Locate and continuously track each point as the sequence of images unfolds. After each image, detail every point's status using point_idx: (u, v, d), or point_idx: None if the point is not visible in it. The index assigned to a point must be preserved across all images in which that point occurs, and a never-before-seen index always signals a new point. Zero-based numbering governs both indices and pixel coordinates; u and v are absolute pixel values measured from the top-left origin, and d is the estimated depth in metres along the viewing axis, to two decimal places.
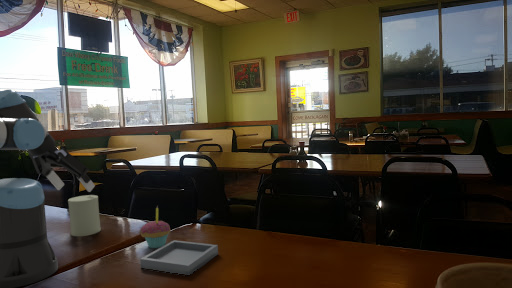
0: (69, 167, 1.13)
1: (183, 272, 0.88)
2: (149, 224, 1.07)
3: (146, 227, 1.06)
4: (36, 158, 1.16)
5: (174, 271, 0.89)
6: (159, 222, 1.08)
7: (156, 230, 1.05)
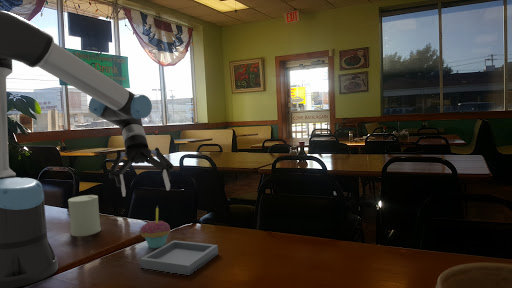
0: None
1: (183, 272, 0.88)
2: (149, 224, 1.07)
3: (146, 227, 1.06)
4: (120, 158, 1.22)
5: (174, 271, 0.89)
6: (159, 222, 1.08)
7: (156, 230, 1.05)
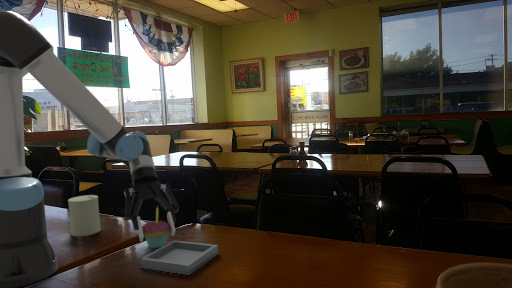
0: None
1: (183, 272, 0.88)
2: (149, 224, 1.07)
3: (146, 227, 1.06)
4: (130, 195, 1.11)
5: (174, 271, 0.89)
6: (159, 222, 1.08)
7: (156, 230, 1.05)
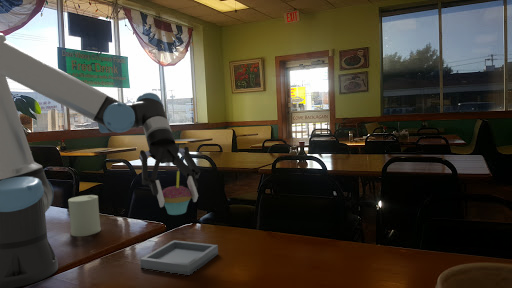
0: None
1: (183, 272, 0.88)
2: (169, 189, 0.97)
3: (166, 192, 0.96)
4: (146, 158, 1.01)
5: (174, 271, 0.89)
6: (180, 187, 0.99)
7: (178, 195, 0.95)
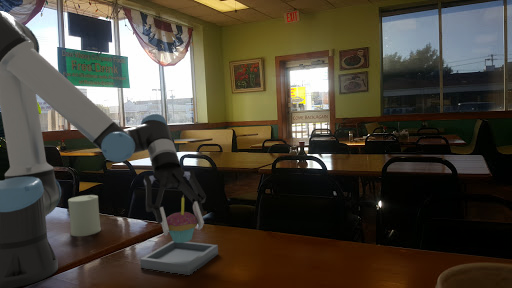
0: None
1: (183, 272, 0.88)
2: (174, 216, 0.94)
3: (171, 219, 0.93)
4: (150, 184, 0.98)
5: (174, 271, 0.89)
6: (185, 213, 0.95)
7: (183, 222, 0.92)
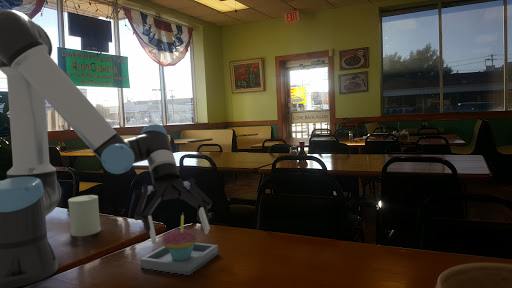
0: None
1: (183, 272, 0.88)
2: (173, 233, 0.94)
3: (170, 237, 0.93)
4: (147, 193, 0.98)
5: (174, 271, 0.89)
6: (184, 231, 0.95)
7: (182, 240, 0.92)
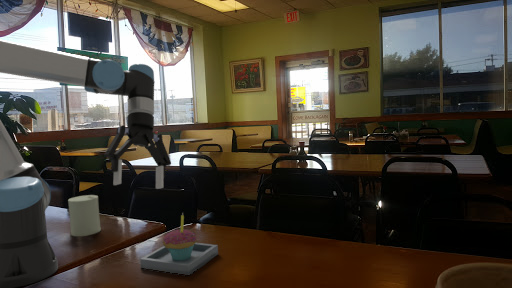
0: None
1: (183, 272, 0.88)
2: (173, 233, 0.94)
3: (170, 237, 0.93)
4: None
5: (174, 271, 0.89)
6: (184, 231, 0.95)
7: (182, 240, 0.92)
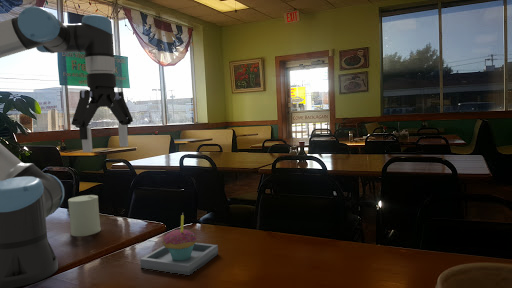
0: None
1: (183, 272, 0.88)
2: (173, 233, 0.94)
3: (170, 237, 0.93)
4: None
5: (174, 271, 0.89)
6: (184, 231, 0.95)
7: (182, 240, 0.92)
